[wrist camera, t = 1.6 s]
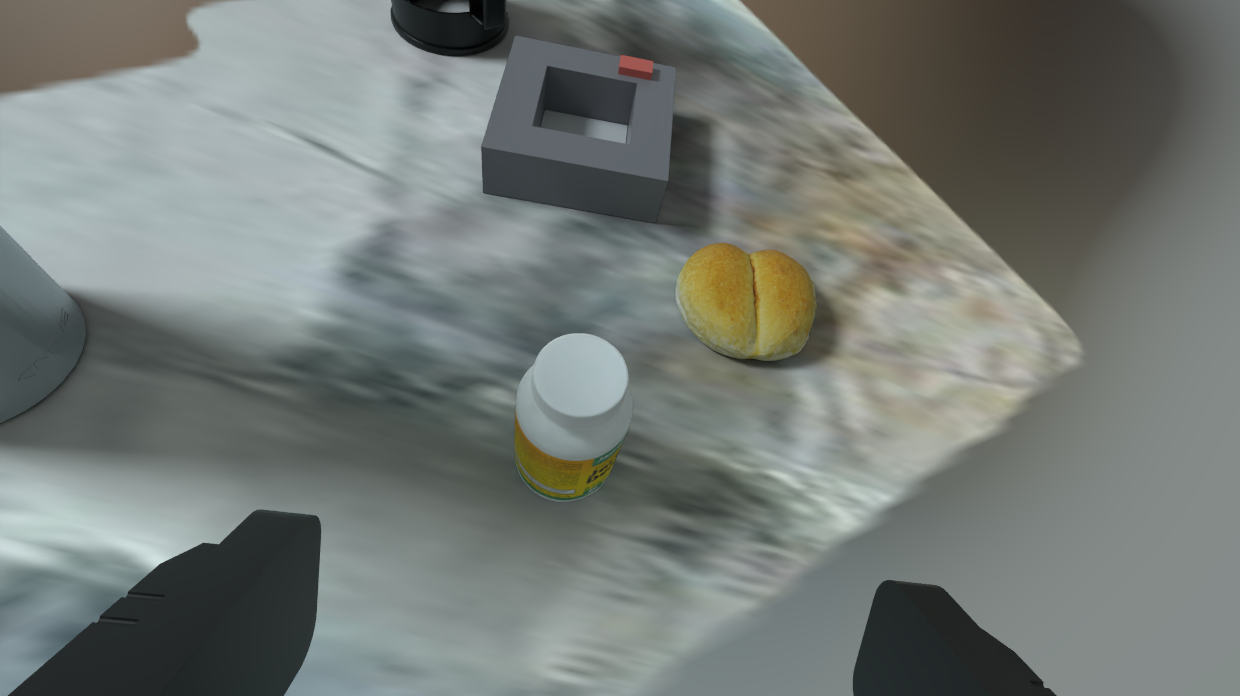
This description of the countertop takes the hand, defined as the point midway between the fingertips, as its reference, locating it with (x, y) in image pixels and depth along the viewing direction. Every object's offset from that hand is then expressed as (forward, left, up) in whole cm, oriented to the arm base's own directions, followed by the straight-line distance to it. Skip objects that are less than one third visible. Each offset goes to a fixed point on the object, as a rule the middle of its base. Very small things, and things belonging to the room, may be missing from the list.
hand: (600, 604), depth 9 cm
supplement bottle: (0, +11, -23) cm, 26 cm away
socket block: (-2, +35, -23) cm, 42 cm away
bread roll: (+10, +23, -23) cm, 34 cm away
